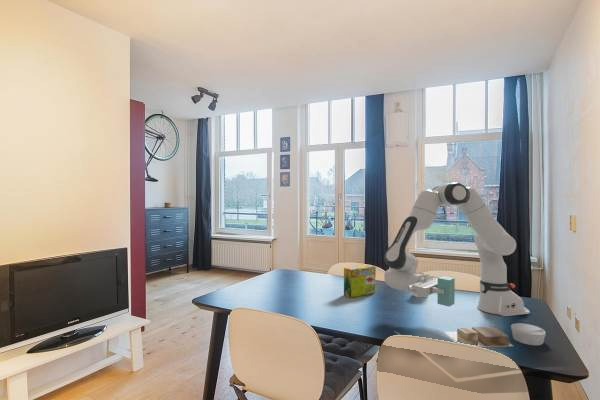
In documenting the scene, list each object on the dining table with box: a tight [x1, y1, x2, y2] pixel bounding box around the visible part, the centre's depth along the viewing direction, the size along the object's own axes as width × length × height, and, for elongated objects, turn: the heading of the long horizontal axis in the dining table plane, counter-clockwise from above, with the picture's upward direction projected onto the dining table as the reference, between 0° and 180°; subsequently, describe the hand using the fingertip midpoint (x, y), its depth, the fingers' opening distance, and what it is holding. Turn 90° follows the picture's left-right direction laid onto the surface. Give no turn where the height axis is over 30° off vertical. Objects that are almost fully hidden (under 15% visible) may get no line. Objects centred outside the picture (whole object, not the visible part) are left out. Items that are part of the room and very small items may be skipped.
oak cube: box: [456, 326, 478, 346], centre depth 128 cm, size 5×5×5 cm
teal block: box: [437, 275, 456, 307], centre depth 144 cm, size 5×5×11 cm
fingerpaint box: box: [343, 264, 377, 298], centre depth 195 cm, size 19×7×16 cm, turn 122°
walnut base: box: [471, 326, 510, 347], centre depth 131 cm, size 9×9×4 cm
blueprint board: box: [443, 331, 514, 348], centre depth 133 cm, size 20×14×1 cm
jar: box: [411, 272, 428, 299], centre depth 191 cm, size 9×8×12 cm
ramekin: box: [510, 322, 546, 346], centre depth 131 cm, size 11×11×5 cm
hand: (448, 290), depth 143 cm, fingers closed on teal block, 5 cm apart
